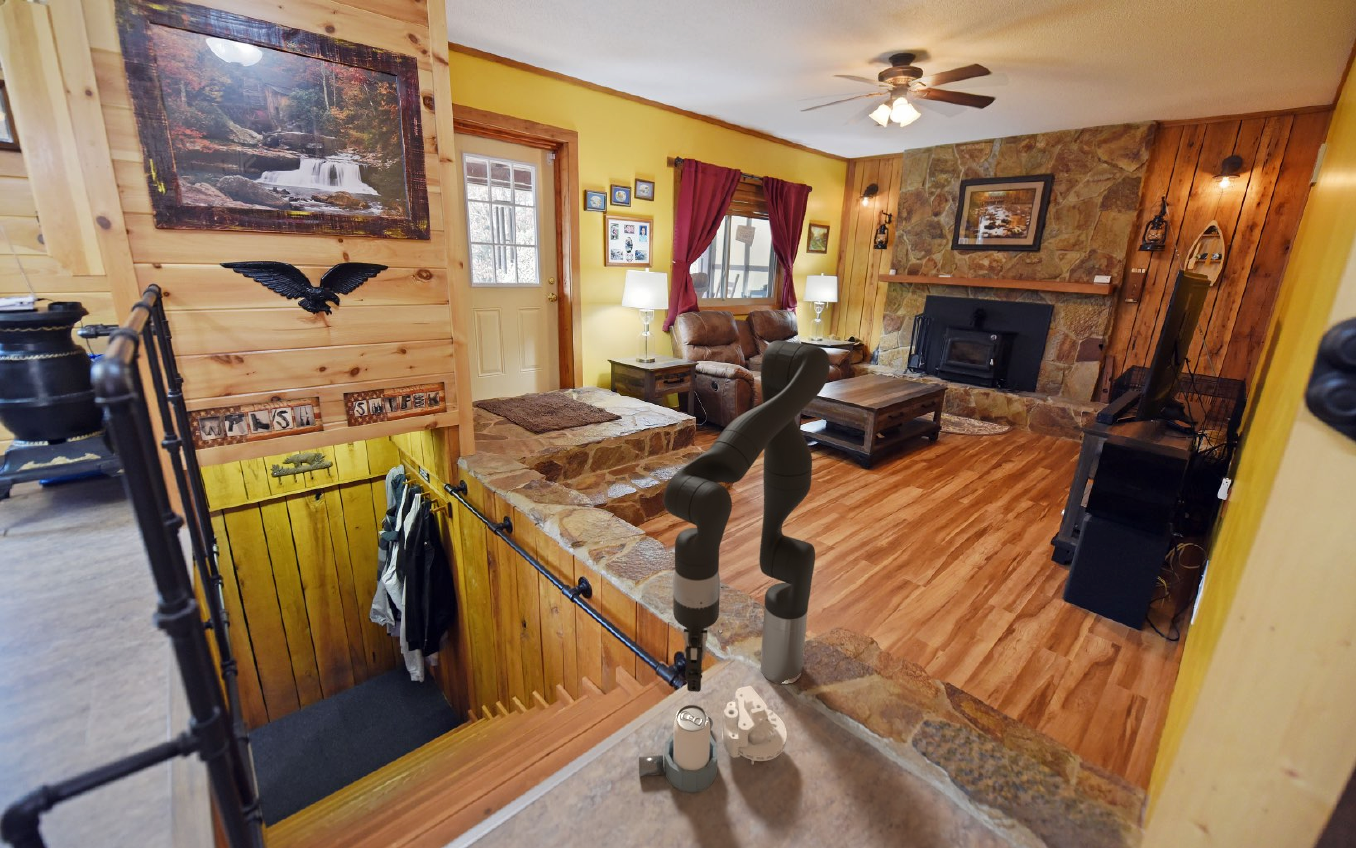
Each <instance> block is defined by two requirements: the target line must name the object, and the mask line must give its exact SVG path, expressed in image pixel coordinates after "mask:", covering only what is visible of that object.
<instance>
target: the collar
mask: <svg viewBox="0 0 1356 848" xmlns="http://www.w3.org/2000/svg"><path fill="white" fill-rule="evenodd" d="M663 752H664V753H663V764H664V775H665V777H666V779H667V782H668V783H669V784H670V785H671V786H672V787H673V788H674V789H676V790H678V791H680V792H683V793H685V794H686V793H687V794H696V793H701V792H703V791H705V790H706V789H708V788H709V787H710V786H711V785H712V784H713V783H714V781H715V779H716V777H717V773H718V744H717V742H716V740H714V738H713V736H712V734H710V751H709V763H708V765H707V766H705V767H703V768H701V769H698V770H696V771H695V770H683V769H682V768H680V767H679V766H677V765H675V764H674V731H673V732H672V733H671V735H670V736H669V737H668V739H667V740H666V741H665V743H664V751H663Z"/></svg>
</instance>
